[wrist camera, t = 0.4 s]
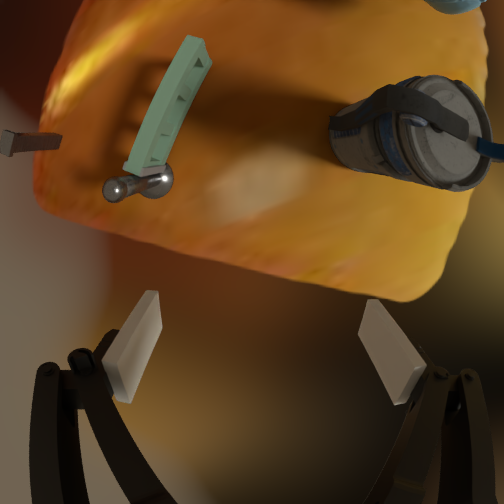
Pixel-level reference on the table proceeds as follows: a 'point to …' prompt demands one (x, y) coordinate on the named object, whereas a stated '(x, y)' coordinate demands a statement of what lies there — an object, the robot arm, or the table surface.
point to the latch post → (28, 142)
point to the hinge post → (138, 185)
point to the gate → (169, 108)
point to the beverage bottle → (418, 134)
